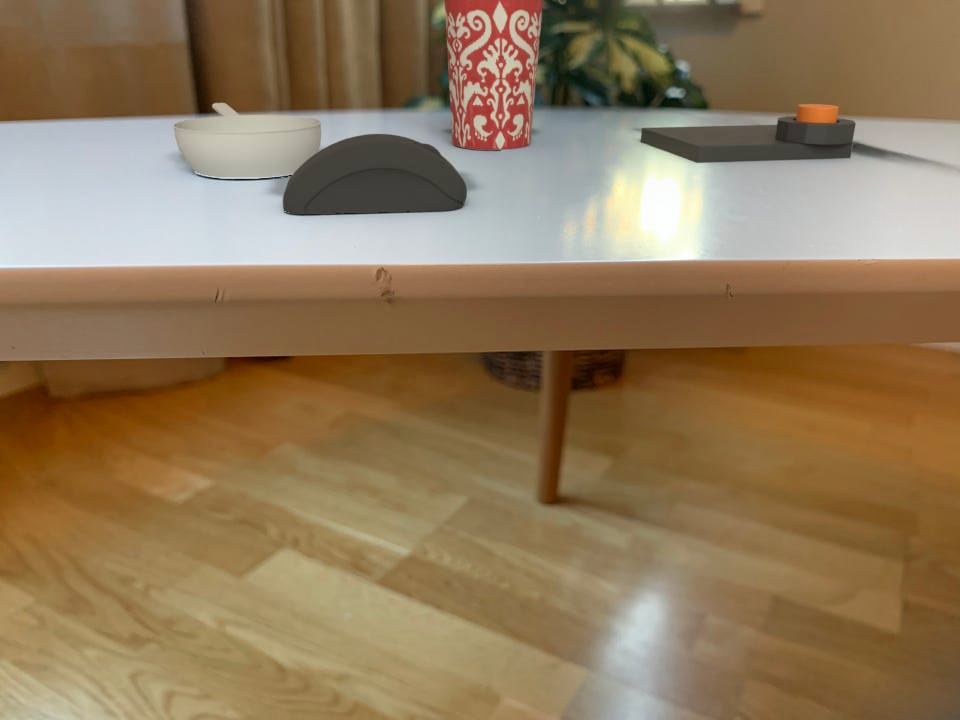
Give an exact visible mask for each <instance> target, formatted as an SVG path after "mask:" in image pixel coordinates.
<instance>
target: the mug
mask: <svg viewBox="0 0 960 720" xmlns="http://www.w3.org/2000/svg"><path fill="white" fill-rule="evenodd" d="M543 6H544V0H444V14H445V31H446V49H447V50H446V51H447V68H448V69H447V71H448V88H449V104H450V105H449V106H450V107H449V108H450V127H451V140H452V141H451V142H452V144H453V145H454V146H456V147H459V148H462V149H469V150H477V151H503V150H516V149H522V148H527V147H529V146H530V145H531V142H532V133H533V121H534V120H533V119H534V107H535V96H536V95H535V93H536V83H537V73H538V62H539V50H540V42H541V30H542V19H543V8H544V7H543Z"/></svg>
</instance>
